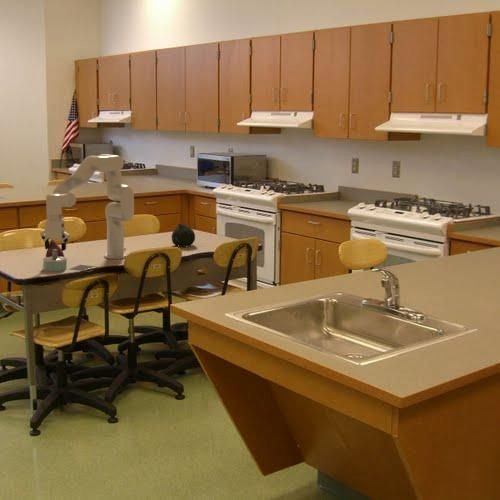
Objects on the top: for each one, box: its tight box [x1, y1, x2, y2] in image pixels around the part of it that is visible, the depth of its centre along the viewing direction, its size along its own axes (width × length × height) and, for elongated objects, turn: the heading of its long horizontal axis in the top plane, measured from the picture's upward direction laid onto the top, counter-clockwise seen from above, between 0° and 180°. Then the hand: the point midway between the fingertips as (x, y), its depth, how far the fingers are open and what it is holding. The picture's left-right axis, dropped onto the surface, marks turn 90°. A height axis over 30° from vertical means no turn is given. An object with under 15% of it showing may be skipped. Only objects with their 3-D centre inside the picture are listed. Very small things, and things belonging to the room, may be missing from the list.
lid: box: [42, 249, 68, 263], centre depth 384 cm, size 12×12×6 cm
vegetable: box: [45, 239, 65, 258], centre depth 399 cm, size 10×10×15 cm
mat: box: [68, 264, 97, 273], centre depth 389 cm, size 12×12×1 cm
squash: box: [171, 223, 196, 247], centre depth 459 cm, size 14×15×15 cm
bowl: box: [42, 261, 67, 273], centre depth 385 cm, size 11×11×5 cm
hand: (55, 249), depth 384 cm, fingers open, 9 cm apart
